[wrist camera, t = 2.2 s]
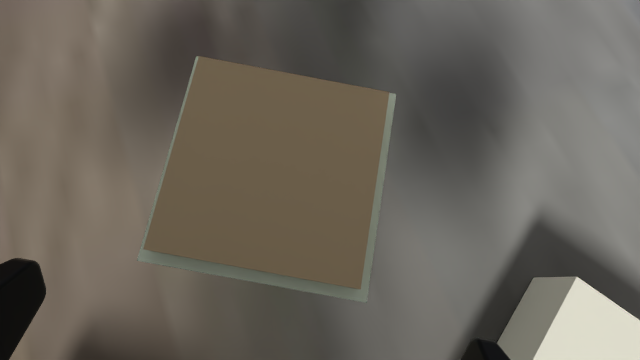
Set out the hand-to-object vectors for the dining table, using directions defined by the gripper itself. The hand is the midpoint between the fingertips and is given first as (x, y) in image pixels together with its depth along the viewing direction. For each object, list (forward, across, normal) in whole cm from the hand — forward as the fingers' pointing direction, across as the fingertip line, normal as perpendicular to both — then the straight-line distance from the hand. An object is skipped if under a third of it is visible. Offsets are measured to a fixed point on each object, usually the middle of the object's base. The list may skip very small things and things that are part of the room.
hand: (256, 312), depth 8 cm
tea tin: (+9, 0, +5) cm, 10 cm away
